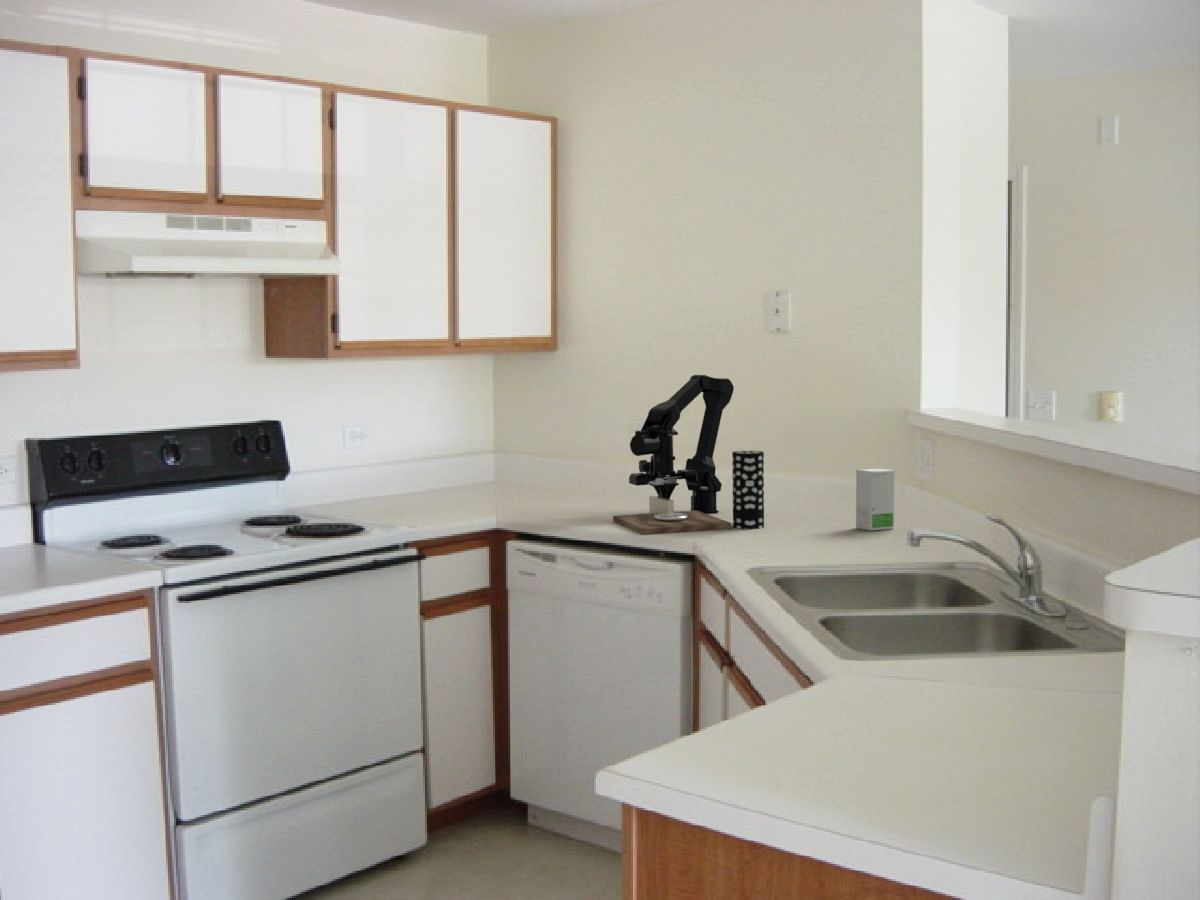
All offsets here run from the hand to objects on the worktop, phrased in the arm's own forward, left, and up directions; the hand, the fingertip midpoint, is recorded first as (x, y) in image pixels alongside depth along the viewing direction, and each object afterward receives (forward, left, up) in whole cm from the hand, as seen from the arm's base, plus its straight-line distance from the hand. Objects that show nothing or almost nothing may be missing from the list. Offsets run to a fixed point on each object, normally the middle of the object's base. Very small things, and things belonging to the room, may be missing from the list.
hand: (664, 507), depth 366 cm
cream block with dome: (+2, +7, -1) cm, 7 cm away
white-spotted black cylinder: (-16, +21, -3) cm, 27 cm away
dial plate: (+2, +10, -3) cm, 11 cm away
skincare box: (-45, +37, -3) cm, 59 cm away
